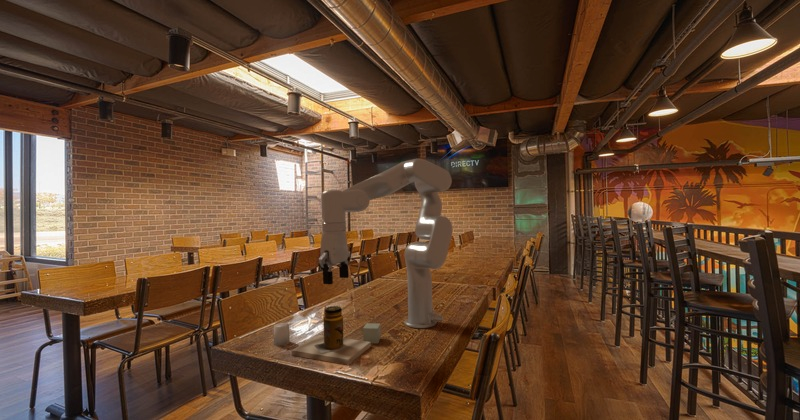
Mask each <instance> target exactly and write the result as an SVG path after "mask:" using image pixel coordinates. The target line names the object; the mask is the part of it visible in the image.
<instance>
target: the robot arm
mask: <svg viewBox="0 0 800 420" xmlns="http://www.w3.org/2000/svg"><path fill="white" fill-rule="evenodd" d="M452 182H453V180H452V176H451V174H450V173H449V171H447V170H446V169H445V168H444V167H441V166H440V165H437V164H434V163H433V162H431V161H429V160H426V159H424V158H421V157H420V158H414V159H408V160H405V161H402V162H400V163H398V164H395V165H394V166H392V167H390V168H388V169H386V170H384V171H382V172H380V173H377V174H375V175H374V176H371V177H369V178H368V179H365V180H363V181H360V182H358V183H356V184H354V185H351V186H350V187H348V188H346V189H343V190H339V189H338V190H337V189H336V190H335V189H331V190H324V191H322V193H321V195H320V196H321V197H320V200H321V218H322V223H321V224H322V233H321V239H320V255H319V258H318V263H319V267H320V269H321V272H322V283H323V284H324V285H333V284H334V281H333V279H334V275H333V271H332V270H333V266H334V265H337V264H339V269H338V270H339V271H338V272H339V273H338V274H339V278H341V279H348V278H349V276H350V275H349V265H350V263H349V262H350V255H351V251H349V250H348V249H349V248H348V238H347V221H346V220H347V219H346V218H347V216H346V213H360V212H363V211H365V210H366V209H368V207H369V205H370V203H371V202H370V201H371V200H375V199H380V198H384V197H388V196H390V195H392V194H394V193H395V192H398V190H401V189H402V188H404V187H406V186H408V185H409V184H412V183H414V187H415V189H416V191H417V193H418V194H419V196H420V200H421V205H420V209H419V213H418V216H417V220H416V224H415V227H414V234H415V235H416V237H417V238H418V239H420V240H426V241H428V242H425V241H423V242H422V241H414V242H413V241H412V242H411V243H409V244H408V245H406V247H405V250H404V253H403V255H404V260H405V267H406V273H407V274H406V275H407V316H408V317H406V318H405V319H404V321H403V323H404V325H405V326H407V327H409V328H412V329H428V328H431V327H432V328H433V327H434V326H436V325H437V322H441V323H442V322H443V321H444V316H443V315H442V314H436V313H435V310H433V278H432V273H431V269H432V270H437V269H440V268H441V267H443V265H444V264H445V263H446V259H447V256H448V251H449V248H450V244H451V242H452V237H453V224H452V222H451V220H450V219H449V218H448V217H447V216H444V215H441V214H442V209H443V203H442V199H441V197H440V195H439V193H441V192H445V191H447V190H449V189H450V187H451V186H452Z"/></svg>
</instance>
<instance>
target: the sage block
mask: <svg viewBox="0 0 800 420" xmlns="http://www.w3.org/2000/svg"><path fill="white" fill-rule="evenodd" d="M381 329H382V328H381V323H370V322H369V323H368V322H367V323H365V325H364V326H363V327H362V336H363V337H362V341H368V342H371V344H379V342H380V340H381V339H382V337H381V335H382V334H381V333H382V332H381Z"/></svg>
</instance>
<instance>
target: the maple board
mask: <svg viewBox="0 0 800 420" xmlns="http://www.w3.org/2000/svg"><path fill="white" fill-rule="evenodd" d="M322 343H324V334H323V335H322V334H318V335H316V336H314V337H312V338H311V339H309V340H308V341H305V342H304V343H302V344H300V345H299V346H297V347H295V348H293V349H292V350H291V356H294V357H300V358H306V359H311V360H318V361H323V362H328V363H336V364H341V365H350V364H351V363H353V362H354V361H355V360H356V359H358V358H359V357H360V356H361V355H363V353H365V352H366V351H367V350H369V349H370V348H371V344H372V343H371V342H368V341H363V340H361V339H353V338H352V339H351V338H347V337H346V338H345V337H343V343H344V344H345V345H346V346H348V347H346V348H343V349H339V350H334V351H330V352H325V353H321V352H320V351H318V349H317V348H316V347H315V346H314V345H316V344H322Z"/></svg>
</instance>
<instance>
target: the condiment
mask: <svg viewBox="0 0 800 420" xmlns="http://www.w3.org/2000/svg"><path fill="white" fill-rule="evenodd" d="M342 312H343V309H342V307H341V306H337V305H333V306H327V307H326V308H324V314H323V315H324V317H323V335H324V343H322V344H316V345H314V346H315V347H316V348H317V349H318V351H320V352H321V353H325V352H330V351H334V350H339V349H343V348H346V347H348V346H346V345H345V344H344V343H343V338H344V317H343V313H342Z"/></svg>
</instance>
